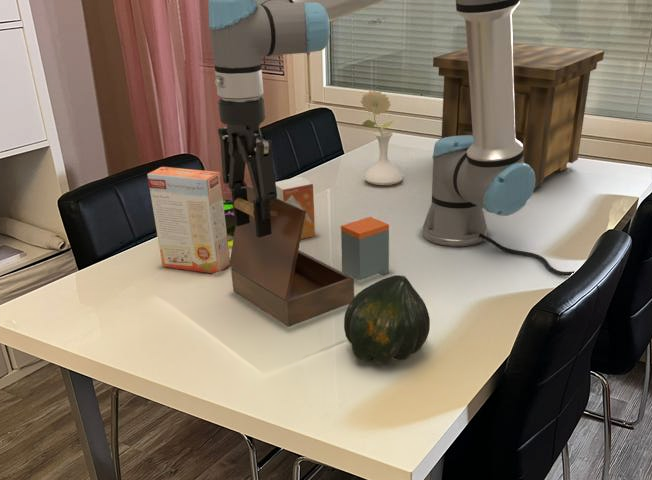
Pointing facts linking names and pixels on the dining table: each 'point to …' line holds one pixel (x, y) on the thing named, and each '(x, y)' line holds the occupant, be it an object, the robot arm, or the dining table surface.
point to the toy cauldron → (229, 220)
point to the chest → (300, 291)
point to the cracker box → (189, 219)
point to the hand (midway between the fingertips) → (253, 229)
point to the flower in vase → (380, 142)
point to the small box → (299, 200)
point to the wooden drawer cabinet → (530, 101)
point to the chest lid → (268, 245)
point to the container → (365, 248)
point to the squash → (387, 321)
